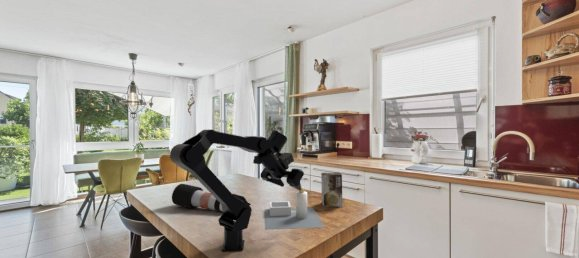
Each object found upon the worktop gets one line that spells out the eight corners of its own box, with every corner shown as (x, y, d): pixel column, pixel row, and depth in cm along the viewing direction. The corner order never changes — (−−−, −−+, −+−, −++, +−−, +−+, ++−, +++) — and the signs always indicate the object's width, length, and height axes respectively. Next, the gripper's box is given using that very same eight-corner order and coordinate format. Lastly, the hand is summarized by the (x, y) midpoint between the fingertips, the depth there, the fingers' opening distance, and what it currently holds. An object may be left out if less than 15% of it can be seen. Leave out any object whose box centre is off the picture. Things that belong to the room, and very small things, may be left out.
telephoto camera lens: (236, 225, 111) (232, 208, 106) (175, 209, 122) (169, 192, 118) (247, 208, 119) (244, 192, 115) (189, 195, 131) (184, 179, 126)
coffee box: (339, 204, 126) (339, 172, 126) (342, 208, 120) (342, 174, 120) (321, 205, 126) (321, 172, 126) (323, 209, 119) (323, 174, 119)
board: (325, 230, 94) (325, 217, 94) (265, 232, 92) (265, 219, 92) (312, 210, 118) (312, 199, 118) (264, 211, 116) (264, 201, 116)
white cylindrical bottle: (308, 218, 103) (308, 188, 103) (296, 218, 102) (296, 189, 103) (306, 214, 108) (306, 186, 108) (295, 215, 107) (295, 186, 107)
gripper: (300, 147, 91) (319, 174, 99) (265, 145, 103) (284, 169, 111) (285, 171, 85) (306, 198, 93) (250, 166, 98) (271, 190, 106)
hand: (291, 187), depth 101 cm, fingers open, 9 cm apart
